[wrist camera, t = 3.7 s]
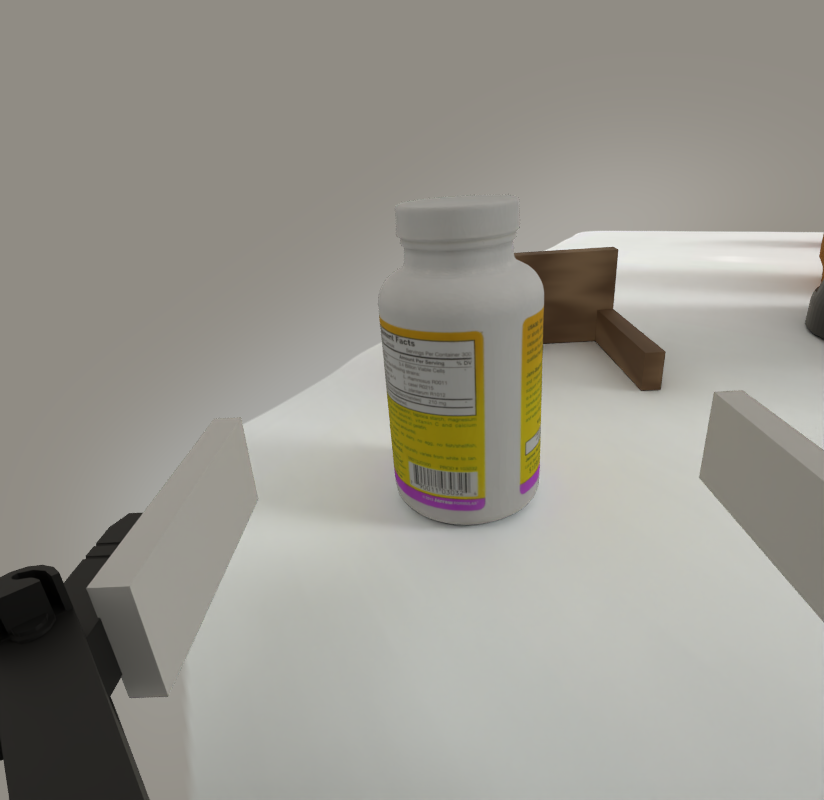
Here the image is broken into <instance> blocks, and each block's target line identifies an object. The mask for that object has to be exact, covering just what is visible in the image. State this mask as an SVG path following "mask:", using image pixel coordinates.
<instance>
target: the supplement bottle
mask: <svg viewBox="0 0 824 800" xmlns="http://www.w3.org/2000/svg"><path fill="white" fill-rule="evenodd" d="M395 216H396V236H397V237H399V238H400V239H401V240H400V244H401V246H403V247H404V265H403V266H402V267H401V268H399V269H397V270H396V271H394V272H393V273H392V274H391V275H390V276H388V278H387V279H386V280H385V281H384V283H383V285H382V287H381V289H380V292H379V297H378V306H379V318H380V327H381V337H382V347H383V356H384V367H385V377H386V388H387V398H388V408H389V418H390V429H391V439H392V449H393V459H394V469H395V477H396V484H397V488H398V491H399V494H400V495H401V497H402V498H403V500H404V501H405V502H406V503H407V504H408V505H409V506H410V507H411V508H412V509H414V510H415V511H417V512H418V513H420V514H421V515H423V516H426V517H428V518H430V519H433V520H436V521H440V522H444V523H449V524H459V525H473V524H482V523H488V522H492V521H496V520H500V519H503V518H505V517H508V516H510V515H512V514H514V513H516V512H518V511H520V510H521V509H522V508H524V507H525V506H526V505H527V504H528V503H529V502H530V501H531V499H532V498H533V497H534V495H535V493H536V491H537V488H538V483H539V469H540V433H541V393H542V353H543V318H544V289H543V284H542V282H541V279H540V278H539V276H538V274H537V273H536V272H535V271H534V270H533V269H532V268H531V267H530V266H529V265H527V264H525V263H523V262H521V261H519V260H517V259H516V258H515V256H514V247H513V240H514V239H515V238H516V237H517V233H516V231H517V230H518V229H519V228H520V210H519V198H518V197H517V196H512V195H466V196H451V197H438V198H429V199H421V200H413V201H407V202H402V203H399V204H397V205H396V206H395Z"/></svg>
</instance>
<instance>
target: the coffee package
mask: <svg viewBox="0 0 824 800" xmlns="http://www.w3.org/2000/svg"><path fill="white" fill-rule="evenodd" d="M819 257H820V259H821V262H822V265H823V273H822V280H821V281H823V279H824V235H823V240H822V244H821V250H820V255H819ZM821 283H822V282H821Z"/></svg>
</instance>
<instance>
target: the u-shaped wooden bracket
mask: <svg viewBox="0 0 824 800" xmlns="http://www.w3.org/2000/svg"><path fill="white" fill-rule="evenodd" d="M514 256H515V258H516V259H517V260H519V261H521V262H523V263H525V264H527V265H529V266H530V267H531V268H532V269H533V270H534V271H535V272H536V273H537V274H538V276H539V278H540V279H541V282H542V284H543V289H544V318H543V344H544V343H562V342H580V341H596V342H597V343H598V344H599V346H600V347H601V348H602V349H603V350H604V351H605V352H606V353H607V354H608V355H609V356H610V357H611V359H612V360H613V361H614V362H615V363H616V364H617V365H618V366H619V367H620V368H621V369H622V370H623V371H624V373H625V374H626V375H627V376H628V377H629V378H630V379H631V380H632V381H633V382H634V383H635V384H636V386H637V387H638V388H639V389H640V390H660V389H661V382H662V374H663V367H664V359H665V351H664V350H663V349H661V348H660V347H659V346H658V345H657V344H655V343H654V342H653V341H652V340H650V339H649V338H648V337H647V336H646V335H644V334H643V333H642V332H641V331H639V330H638V329H637V328H636V327H634V326H633V325H632V324H631V323H630V322H628V321H627V320H626V319H625V318H623V317H622V316H621V315H620V314H619V313H617V312H616V311H615V310H614V309H613V303H614V292H615V281H616V269H617V258H618V249H616V248H614V247H604V248H588V249H572V250H555V251H539V252H523V253H514Z"/></svg>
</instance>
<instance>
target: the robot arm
mask: <svg viewBox="0 0 824 800" xmlns="http://www.w3.org/2000/svg"><path fill="white" fill-rule="evenodd" d="M805 324H806V326H807V328H808V329H809V330H810V331H811V332H813V333H814V334H816V335H817V336H819V337H821V338H823V339H824V279H823V281H822V283H821V285H820V286H819V287H818V288H816V290H815V291H814V293H813V295H812V297H811V300H810V304H809V308H808V312H807V316H806V321H805ZM699 478H700V479H701V481H702V482H703V483H704V484H705V485H706V486H707V488H708V489H709V490H710V491H711V492H712V493H713V494H714V496H715V497H716V498H717V499H718V500H719V501H720V503H721V504H722V505H723V506H724V507H725V508H726V510H727V511H728V512H729V513H730V514H731V515H732V517H733V518H734V519H735V520H736V521H737V522H738V523H739V525H740V526H741V527H742V528H743V529H744V530H745V532H746V533H747V534H748V535H749V536H750V537H751V539H752V540H753V541H754V542H755V543H756V544H757V546H758V547H759V548H760V549H761V550H762V551H763V552H764V554H765V555H766V556H767V557H768V558H769V559H770V561H771V562H772V563H773V564H774V565H775V566H776V568H777V569H778V570H779V571H780V572H781V573H782V575H783V576H784V577H785V578H786V579H787V580H788V581H789V583H790V584H791V585H792V586H793V587H794V588H795V590H796V591H797V592H798V593H799V594H800V595H801V597H802V598H803V599H804V600H805V601H806V602H807V604H808V605H809V606H810V607H811V608H812V609H813V610H814V612H815V613H816V614H817V615H818V616H819V617H820V619H821V620H822V621H823V622H824V450H823V449H821V448H820V447H819V446H817V445H816V444H815V443H813V442H812V441H810V440H809V439H808V438H806V437H805V436H804V435H802V434H801V433H800V432H798V431H797V430H796V429H794V428H793V427H791V426H790V425H789V424H787V423H786V422H785V421H783V420H782V419H781V418H779V417H778V416H777V415H775V414H774V413H772V412H771V411H770V410H768V409H767V408H766V407H764V406H763V405H762V404H760V403H759V402H758V401H756V400H755V399H753V398H752V397H751V396H749V395H748V394H747V393H745V392H744V391H743V390H742V391H723V392H714V395H713V401H712V407H711V413H710V418H709V424H708V430H707V435H706V441H705V447H704V453H703V458H702V464H701V470H700V475H699ZM257 501H258V496H257V491H256V486H255V482H254V477H253V472H252V467H251V463H250V458H249V453H248V448H247V444H246V439H245V434H244V429H243V425H242V420H241V417H239V418H223V419H214V420H213V421H212V422H211V424H210V425H209V426H208V428H207V429H206V430H205V432H204V433H203V434H202V436H201V437H200V438H199V440H198V441H197V442H196V444H195V445H194V446H193V448H192V449H191V450H190V452H189V453H188V454H187V456H186V457H185V458H184V460H183V461H182V462H181V464H180V465H179V466H178V468H177V469H176V470H175V471H174V473H173V474H172V475H171V477H170V478H169V479H168V481H167V482H166V483H165V485H164V486H163V487H162V489H161V490H160V491H159V493H158V494H157V495H156V497H155V498H154V499H153V501H152V502H151V503H150V505H149V506H148V507H147V508H146V510H145V511H144V512H143V513H129V514H127V515H126V516H125V517H124V518H122V519H120V520H119V521H118V522H116V523H115V524H113V525H112V526H111V527H109V528H108V530H107V531H106V532H105V534H104V535H103V536H102V537H101V538H100V539H99V541H98V542H97V543H96V546H94V547H93V548H92V549H91V550H90V552H89V553H88V554H87V555H86V559H84V560H82V561H81V563H80V564H79V565H78V566H77V568H76V569H75V570H74V571H73V572H72V574H71V575H70V576H69V577H68V579H67V580H66V581H65V582H64V583H63V581H62V578H61V576H60V574H59V572H58V571H57V570H56V569H55V568H54V567H51V566H45V565H39V566H38V565H37V566H29V567H25V568H22V569H19V570H16V571H13V572H10V573H8V574H6V575H4V576H2V577H0V760H3V759H4V766H5V773H6V780H7V786H8V793H9V800H149V797H148V794H147V792H146V789H145V786H144V784H143V781H142V778H141V776H140V773H139V771H138V768H137V765H136V762H135V760H134V757H133V754H132V752H131V749H130V746H129V744H128V741H127V738H126V736H125V733H124V731H123V728H122V725H121V722H120V720H119V717H118V714H117V712H116V709H115V707H114V704H113V702H112V699H111V697H110V696H111V694H112V692H113V690H114V689H115V687H116V685H117V683H118V682H119V680H120V678H122V680H123V683H124V685H125V688H126V690H127V693H128V696H129V698H144V697H168V696H169V694H170V692H171V690H172V688H173V685H174V683H175V681H176V679H177V677H178V674H179V672H180V670H181V668H182V666H183V664H184V661H185V659H186V657H187V655H188V653H189V650H190V648H191V646H192V644H193V642H194V639H195V637H196V635H197V633H198V631H199V628H200V626H201V624H202V622H203V620H204V617H205V615H206V613H207V611H208V609H209V606H210V604H211V602H212V600H213V598H214V595H215V593H216V591H217V589H218V587H219V584H220V582H221V580H222V578H223V576H224V573H225V571H226V569H227V567H228V565H229V562H230V560H231V558H232V556H233V554H234V551H235V549H236V547H237V545H238V543H239V540H240V538H241V536H242V534H243V532H244V529H245V527H246V525H247V523H248V521H249V518H250V516H251V514H252V512H253V510H254V507H255V505H256V503H257Z"/></svg>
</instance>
